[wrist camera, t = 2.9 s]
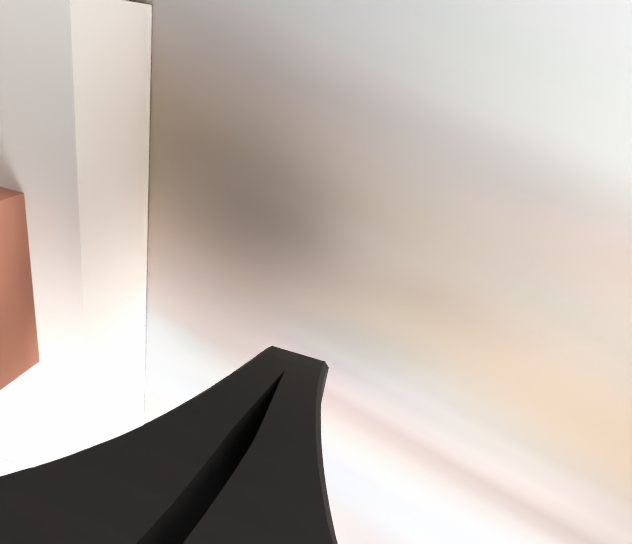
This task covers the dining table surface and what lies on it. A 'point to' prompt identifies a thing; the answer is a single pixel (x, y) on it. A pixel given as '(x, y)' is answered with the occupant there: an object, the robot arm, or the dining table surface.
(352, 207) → the dining table surface
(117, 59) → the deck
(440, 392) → the dining table surface
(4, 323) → the block
